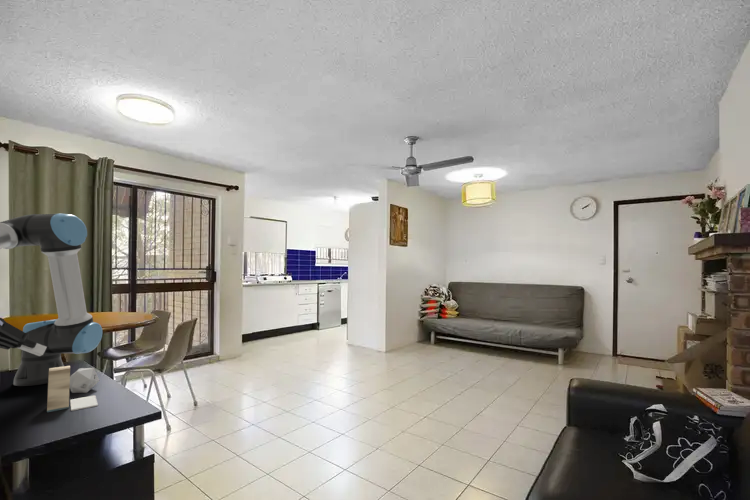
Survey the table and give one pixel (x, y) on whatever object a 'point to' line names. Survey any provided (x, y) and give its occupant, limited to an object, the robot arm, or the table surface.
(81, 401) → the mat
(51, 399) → the block
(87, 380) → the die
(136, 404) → the table surface
